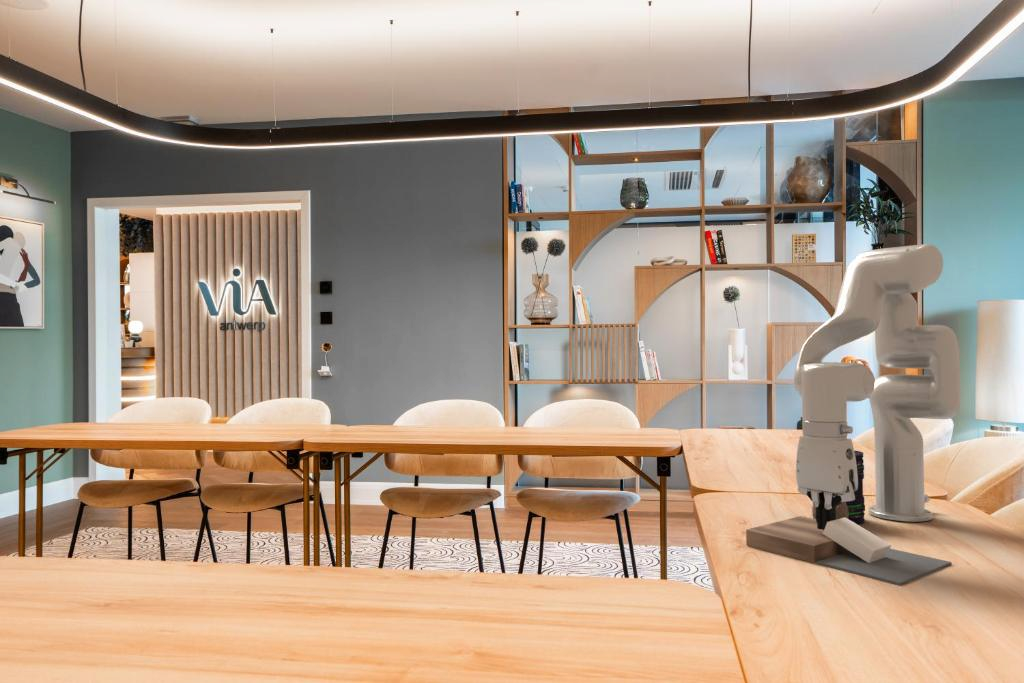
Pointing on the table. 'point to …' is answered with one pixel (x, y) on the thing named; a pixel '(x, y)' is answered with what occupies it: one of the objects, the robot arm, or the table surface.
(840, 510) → the vase
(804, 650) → the table surface
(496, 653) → the table surface
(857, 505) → the storage jar
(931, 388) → the robot arm
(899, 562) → the charcoal mat
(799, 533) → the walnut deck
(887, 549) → the ivory tile
